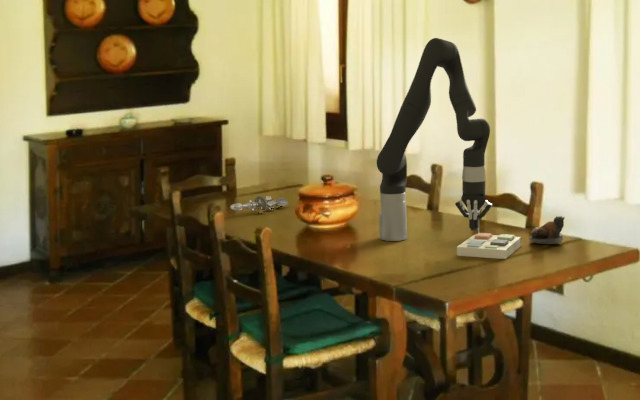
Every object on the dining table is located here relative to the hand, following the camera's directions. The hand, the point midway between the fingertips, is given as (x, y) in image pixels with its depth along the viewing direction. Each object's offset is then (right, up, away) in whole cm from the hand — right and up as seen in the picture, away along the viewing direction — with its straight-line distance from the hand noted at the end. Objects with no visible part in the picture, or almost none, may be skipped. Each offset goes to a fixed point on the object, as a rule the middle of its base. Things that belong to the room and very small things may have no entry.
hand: (473, 230), depth 302 cm
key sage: (+12, -5, +5) cm, 13 cm away
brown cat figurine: (+27, -5, +7) cm, 28 cm away
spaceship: (-77, +4, +86) cm, 116 cm away
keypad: (+6, -7, +2) cm, 9 cm away
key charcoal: (+8, -6, -2) cm, 10 cm away
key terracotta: (+5, -4, +8) cm, 10 cm away
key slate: (+1, -7, +1) cm, 7 cm away
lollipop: (+6, -3, +27) cm, 27 cm away
